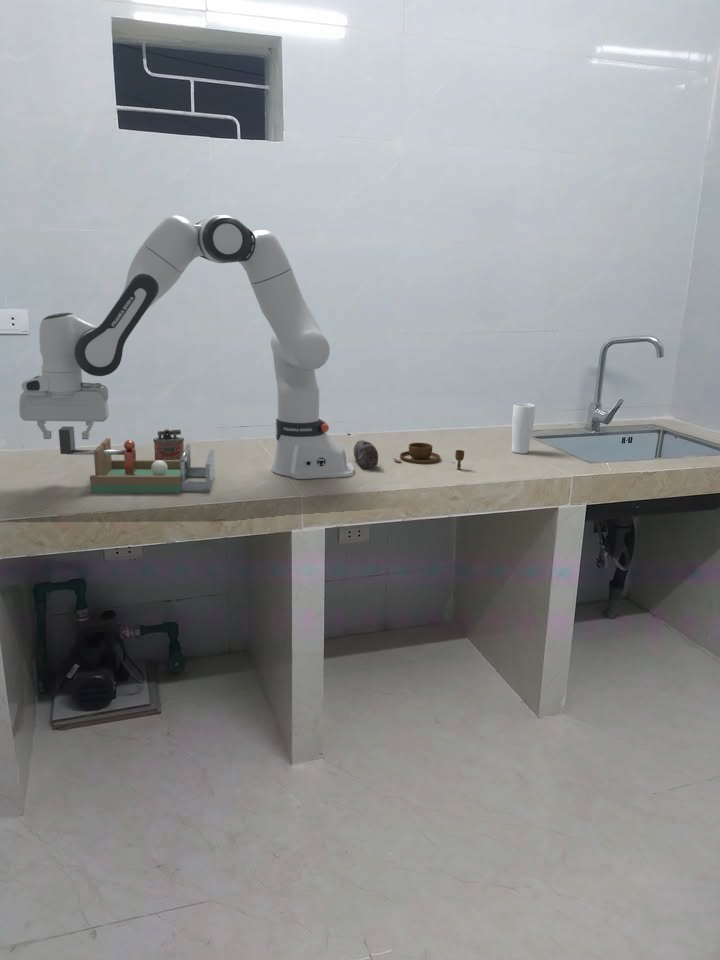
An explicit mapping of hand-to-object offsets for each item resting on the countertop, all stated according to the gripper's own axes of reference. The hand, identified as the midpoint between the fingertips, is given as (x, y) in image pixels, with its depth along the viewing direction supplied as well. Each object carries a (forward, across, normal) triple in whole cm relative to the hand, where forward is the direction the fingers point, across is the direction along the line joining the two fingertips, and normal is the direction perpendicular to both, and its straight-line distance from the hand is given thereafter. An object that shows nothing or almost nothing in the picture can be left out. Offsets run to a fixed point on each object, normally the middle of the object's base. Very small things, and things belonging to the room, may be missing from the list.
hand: (66, 438), depth 182 cm
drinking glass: (+11, -127, -35) cm, 132 cm away
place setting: (+12, -94, -22) cm, 97 cm away
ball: (+7, -22, 0) cm, 23 cm away
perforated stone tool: (+12, -76, -20) cm, 79 cm away
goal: (+11, -31, 0) cm, 33 cm away
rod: (+8, -7, 0) cm, 11 cm away
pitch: (+11, -17, 0) cm, 21 cm away
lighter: (+12, -22, -18) cm, 31 cm away
